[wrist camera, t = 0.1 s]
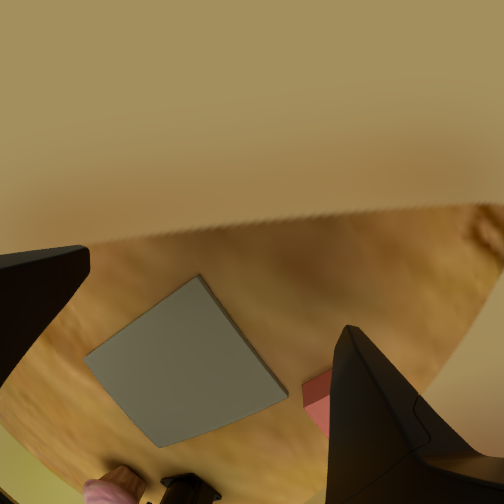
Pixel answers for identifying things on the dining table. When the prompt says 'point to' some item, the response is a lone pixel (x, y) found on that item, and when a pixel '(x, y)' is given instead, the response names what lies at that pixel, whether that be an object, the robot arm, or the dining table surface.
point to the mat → (184, 368)
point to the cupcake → (114, 488)
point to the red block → (318, 400)
